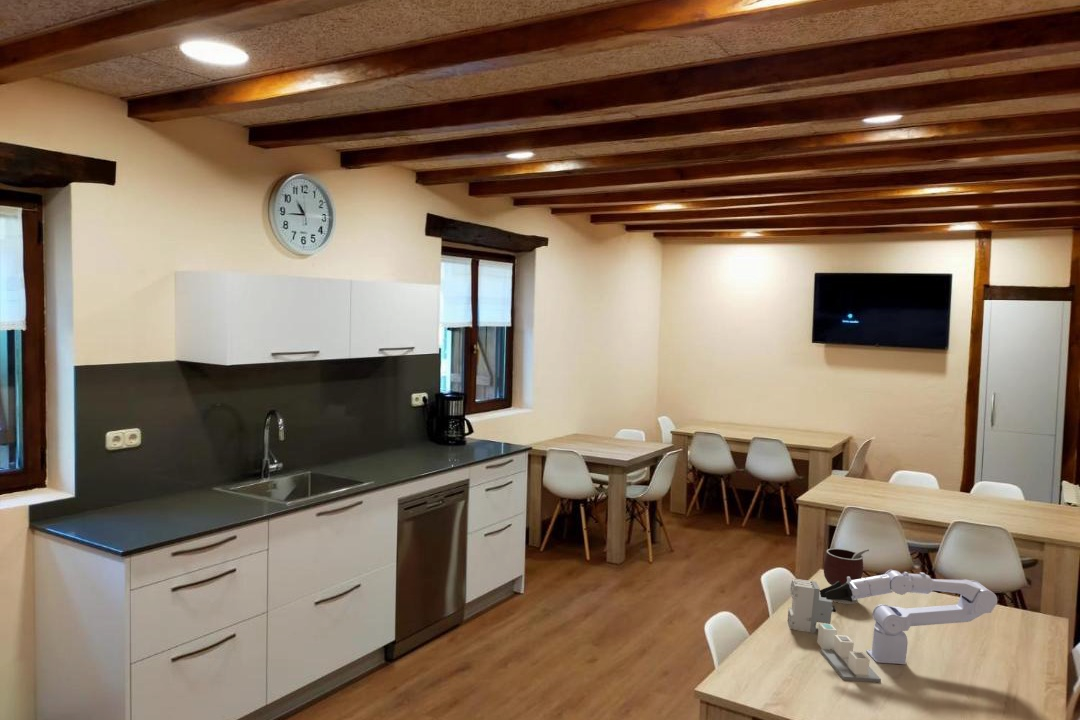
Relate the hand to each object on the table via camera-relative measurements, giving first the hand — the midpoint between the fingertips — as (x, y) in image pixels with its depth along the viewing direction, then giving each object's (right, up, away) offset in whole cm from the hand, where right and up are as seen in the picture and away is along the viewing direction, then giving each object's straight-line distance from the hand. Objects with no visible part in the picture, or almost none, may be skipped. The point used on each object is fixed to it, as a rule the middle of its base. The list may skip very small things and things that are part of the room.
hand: (823, 594), depth 243 cm
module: (+3, -18, +6) cm, 19 cm away
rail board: (+5, -19, -8) cm, 22 cm away
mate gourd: (+26, -17, +51) cm, 59 cm away
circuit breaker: (+3, -17, +20) cm, 26 cm away
